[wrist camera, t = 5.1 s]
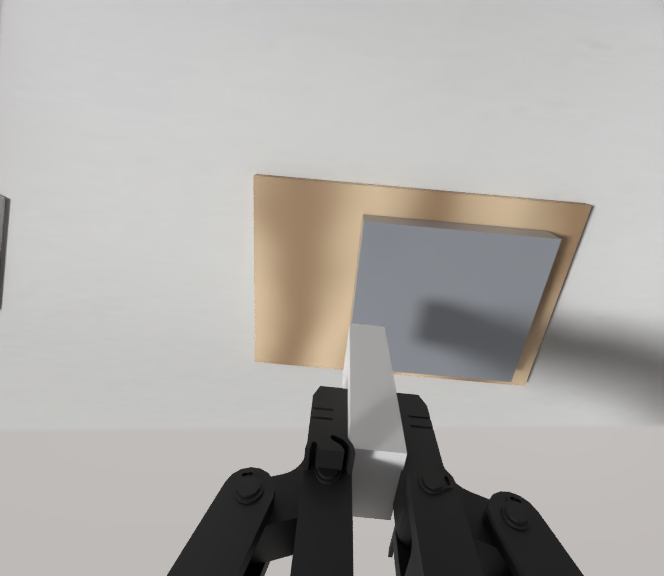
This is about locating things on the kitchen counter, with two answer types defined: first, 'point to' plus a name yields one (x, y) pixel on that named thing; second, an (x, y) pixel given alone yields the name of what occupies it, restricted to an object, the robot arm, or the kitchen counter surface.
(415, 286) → the tile
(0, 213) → the turner
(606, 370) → the kitchen counter surface
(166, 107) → the kitchen counter surface
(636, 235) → the kitchen counter surface
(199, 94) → the kitchen counter surface
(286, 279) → the board
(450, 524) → the robot arm
